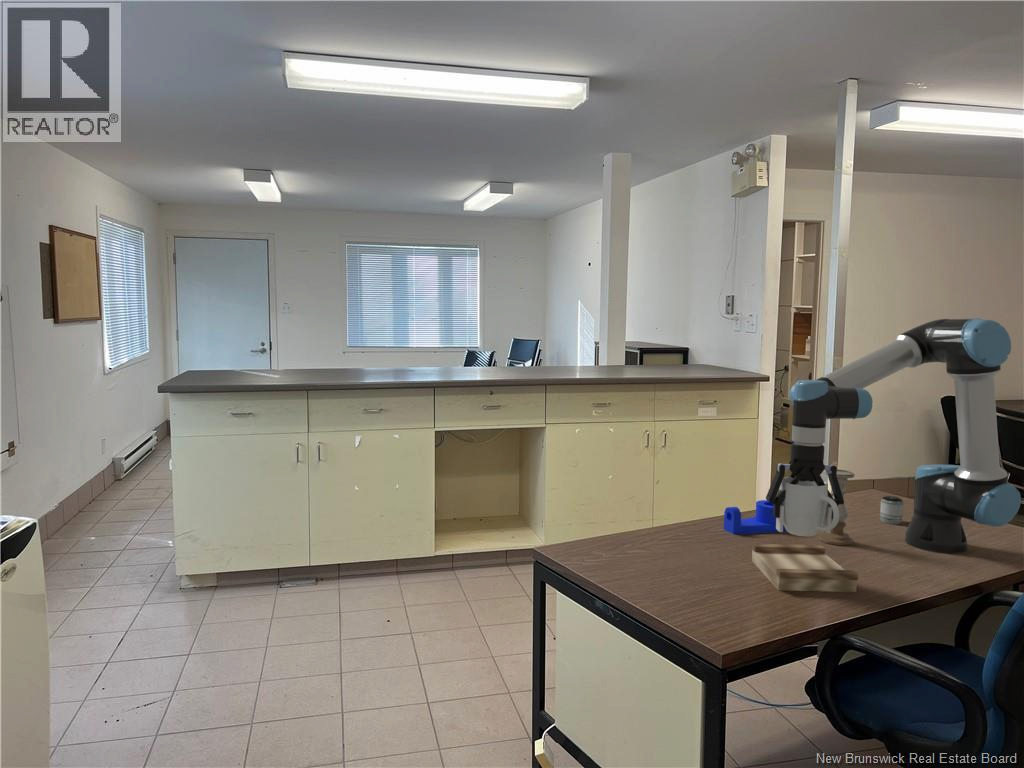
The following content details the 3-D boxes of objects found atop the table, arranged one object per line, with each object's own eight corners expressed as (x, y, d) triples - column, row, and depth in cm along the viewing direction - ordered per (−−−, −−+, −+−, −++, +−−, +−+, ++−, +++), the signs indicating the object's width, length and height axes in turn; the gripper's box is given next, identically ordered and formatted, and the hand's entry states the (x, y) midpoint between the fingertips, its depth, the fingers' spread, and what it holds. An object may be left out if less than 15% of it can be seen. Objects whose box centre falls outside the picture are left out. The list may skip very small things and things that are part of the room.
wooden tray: (820, 561, 182) (821, 545, 182) (857, 592, 162) (858, 574, 161) (751, 560, 183) (752, 543, 182) (779, 590, 162) (779, 572, 162)
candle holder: (855, 547, 194) (859, 476, 192) (820, 543, 197) (824, 473, 195) (850, 538, 203) (854, 470, 201) (818, 534, 205) (821, 467, 204)
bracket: (773, 523, 218) (774, 499, 217) (793, 531, 209) (794, 506, 209) (719, 528, 212) (720, 503, 211) (737, 536, 203) (738, 511, 203)
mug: (849, 539, 167) (852, 486, 166) (823, 547, 161) (825, 492, 160) (794, 523, 180) (797, 474, 179) (768, 530, 174) (770, 479, 172)
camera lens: (875, 519, 223) (876, 495, 222) (893, 518, 223) (895, 495, 222) (888, 525, 216) (889, 500, 216) (906, 524, 217) (908, 500, 216)
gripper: (849, 441, 172) (843, 527, 175) (754, 439, 173) (750, 525, 175) (863, 447, 165) (857, 537, 167) (764, 445, 166) (760, 534, 168)
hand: (802, 531), depth 171 cm, fingers closed on mug, 11 cm apart
